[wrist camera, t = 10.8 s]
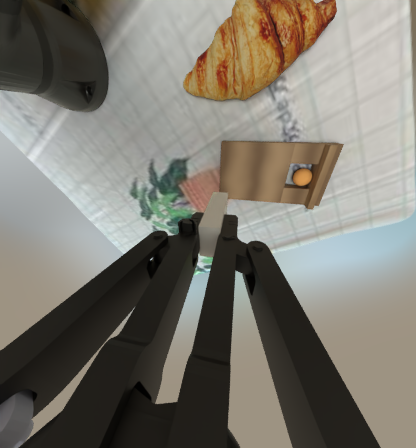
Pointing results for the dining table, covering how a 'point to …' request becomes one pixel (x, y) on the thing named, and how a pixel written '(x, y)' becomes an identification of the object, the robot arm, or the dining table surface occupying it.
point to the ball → (302, 177)
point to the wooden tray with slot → (275, 170)
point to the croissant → (257, 46)
